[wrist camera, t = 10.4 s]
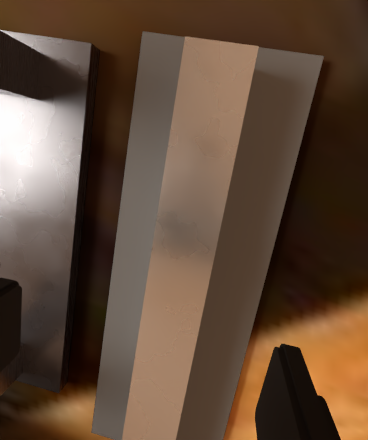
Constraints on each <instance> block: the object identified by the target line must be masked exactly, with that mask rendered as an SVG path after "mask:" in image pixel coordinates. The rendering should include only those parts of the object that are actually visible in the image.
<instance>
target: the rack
mask: <svg viewBox="0 0 368 440" xmlns="http://www.w3.org/2000/svg"><path fill="white" fill-rule="evenodd" d="M99 52H100V50H99V49H98V48H96V47H95V46H94V45H93V44H91V43H86V42H79V41H72V40H65V39H58V38H51V37H45V36H38V35H31V34H24V33H17V32H10V31H3V30H0V278H6V279H11V280H15V281H17V282H18V283H19V286H21V287H22V310H21V344H20V350H19V353H18V354H17V356H16V357H15V358H14V359H13V360H12V361H11V362H10V363H9V364H8V365H7V366H6V367H5V368H4V369H3V370H2V371H1V372H0V396H1V395H2V394H3V393H4V392H5V391H6V390H7V389H8V387H9V386H10V385H11V384H12V383H13V382H14V381H15V380H17V381H20V382H23V383H27V384H30V385H33V386H37V387H40V388H44V389H47V390H50V391H54V392H57V393H60V391H61V390H62V389H63V387H64V386H65V385H66V383H67V378H68V368H69V358H70V347H71V337H72V327H73V317H74V307H75V297H76V286H77V276H78V266H79V256H80V246H81V235H82V225H83V215H84V205H85V195H86V184H87V174H88V164H89V154H90V144H91V134H92V123H93V113H94V103H95V93H96V83H97V72H98V62H99Z"/></svg>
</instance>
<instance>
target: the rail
mask: <svg viewBox="0 0 368 440" xmlns="http://www.w3.org/2000/svg"><path fill="white" fill-rule="evenodd" d="M258 48H259V46H253V45H246V44H238V43H231V42H223V41H216V40H208V39H201V38H193V37H186V36H185V40H184V47H183V53H182V60H181V66H180V72H179V79H178V85H177V92H176V98H175V104H174V111H173V117H172V123H171V130H170V136H169V143H168V149H167V155H166V162H165V168H164V175H163V181H162V187H161V194H160V200H159V206H158V213H157V219H156V226H155V232H154V238H153V245H152V251H151V258H150V264H149V270H148V277H147V283H146V290H145V296H144V302H143V309H142V315H141V321H140V328H139V334H138V341H137V347H136V353H135V360H134V366H133V373H132V379H131V385H130V392H129V398H128V404H127V411H126V417H125V424H124V430H123V436H122V440H176V436H177V432H178V427H179V422H180V417H181V413H182V408H183V403H184V398H185V394H186V389H187V384H188V380H189V375H190V370H191V365H192V361H193V356H194V351H195V346H196V342H197V337H198V332H199V327H200V323H201V318H202V313H203V309H204V304H205V299H206V294H207V290H208V285H209V280H210V275H211V271H212V266H213V261H214V257H215V252H216V247H217V242H218V238H219V233H220V228H221V223H222V219H223V214H224V209H225V204H226V200H227V195H228V190H229V186H230V181H231V176H232V171H233V167H234V162H235V157H236V152H237V148H238V143H239V138H240V134H241V129H242V124H243V119H244V115H245V110H246V105H247V100H248V96H249V91H250V86H251V81H252V77H253V72H254V67H255V63H256V58H257V53H258Z"/></svg>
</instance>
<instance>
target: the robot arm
mask: <svg viewBox="0 0 368 440" xmlns="http://www.w3.org/2000/svg"><path fill="white" fill-rule="evenodd" d="M21 310H22V287H21V286H19V283H18V282H17V281H15V280H11V279H6V278H0V372H1V371H2V370H3V369H4V368H5V367H6V366H7V365H8V364H9V363H10V362H11V361H12V360H13V359H14V358H15V357H16V356H17V354H18V353H19V350H20V344H21ZM255 422H256V432H257V440H341V439H340V436H339V434H338V431H337V429H336V426H335V423H334V421H333V418H332V416H331V413H330V411H329V408H328V406H327V403H326V401H325V399H324V398H323V397H322V396H318V395H317V393H316V391H315V388H314V385H313V382H312V380H311V377H310V374H309V372H308V369H307V366H306V364H305V361H304V358H303V355H302V353H301V350H300V348H298V347H294V346H290V345H286V344H281V345H280V348H279V347H275V348H274V350H273V353H272V357H271V360H270V363H269V367H268V370H267V373H266V377H265V380H264V383H263V387H262V390H261V393H260V397H259V400H258V403H257V407H256V412H255Z"/></svg>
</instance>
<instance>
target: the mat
mask: <svg viewBox="0 0 368 440" xmlns="http://www.w3.org/2000/svg"><path fill="white" fill-rule="evenodd" d="M184 40H185V37H180V36H173V35H166V34H158V33H151V32H144V31H143V33H142V40H141V48H140V56H139V64H138V72H137V79H136V87H135V95H134V103H133V111H132V119H131V126H130V134H129V142H128V150H127V158H126V166H125V173H124V181H123V189H122V197H121V205H120V212H119V220H118V228H117V236H116V244H115V252H114V259H113V267H112V275H111V283H110V291H109V299H108V306H107V314H106V322H105V330H104V338H103V346H102V353H101V361H100V369H99V377H98V385H97V392H96V400H95V408H94V416H93V424H92V432H91V433H94V434H98V435H101V436H104V437H107V438H111V439H114V440H122V436H123V430H124V424H125V417H126V411H127V404H128V398H129V392H130V385H131V379H132V373H133V366H134V360H135V353H136V347H137V341H138V334H139V328H140V321H141V315H142V309H143V302H144V296H145V290H146V283H147V277H148V270H149V264H150V258H151V251H152V245H153V238H154V232H155V226H156V219H157V213H158V206H159V200H160V194H161V187H162V181H163V175H164V168H165V162H166V155H167V149H168V143H169V136H170V130H171V123H172V117H173V111H174V104H175V98H176V92H177V85H178V79H179V72H180V66H181V60H182V53H183V47H184ZM323 57H324V56H319V55H312V54H304V53H297V52H290V51H282V50H275V49H268V48H260V47H259V48H258V53H257V58H256V63H255V67H254V72H253V77H252V81H251V86H250V91H249V96H248V100H247V105H246V110H245V115H244V119H243V124H242V129H241V134H240V138H239V143H238V148H237V152H236V157H235V162H234V167H233V171H232V176H231V181H230V186H229V190H228V195H227V200H226V204H225V209H224V214H223V219H222V223H221V228H220V233H219V238H218V242H217V247H216V252H215V257H214V261H213V266H212V271H211V275H210V280H209V285H208V290H207V294H206V299H205V304H204V309H203V313H202V318H201V323H200V327H199V332H198V337H197V342H196V346H195V351H194V356H193V361H192V365H191V370H190V375H189V380H188V384H187V389H186V394H185V398H184V403H183V408H182V413H181V417H180V422H179V427H178V432H177V436H176V440H223V438H224V434H225V430H226V426H227V422H228V419H229V415H230V411H231V407H232V403H233V400H234V396H235V392H236V388H237V384H238V381H239V377H240V373H241V369H242V365H243V362H244V358H245V354H246V350H247V346H248V343H249V339H250V335H251V331H252V327H253V324H254V320H255V316H256V312H257V308H258V305H259V301H260V297H261V293H262V289H263V286H264V282H265V278H266V274H267V270H268V267H269V263H270V259H271V255H272V251H273V248H274V244H275V240H276V236H277V232H278V229H279V225H280V221H281V217H282V213H283V210H284V206H285V202H286V198H287V194H288V191H289V187H290V183H291V179H292V175H293V171H294V168H295V164H296V160H297V156H298V152H299V149H300V145H301V141H302V137H303V133H304V130H305V126H306V122H307V118H308V114H309V111H310V107H311V103H312V99H313V95H314V92H315V88H316V84H317V80H318V76H319V73H320V69H321V65H322V61H323Z"/></svg>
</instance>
